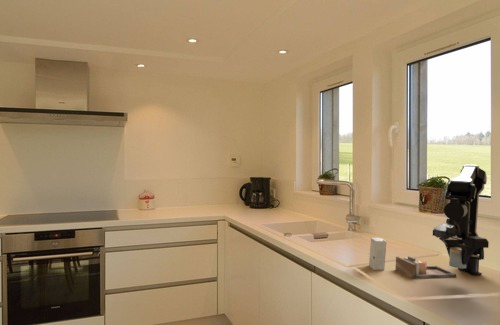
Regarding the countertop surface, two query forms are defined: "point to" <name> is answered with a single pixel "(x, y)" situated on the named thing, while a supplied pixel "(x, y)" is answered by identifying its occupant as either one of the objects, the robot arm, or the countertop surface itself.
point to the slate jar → (456, 258)
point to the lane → (431, 272)
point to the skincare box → (377, 254)
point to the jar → (422, 266)
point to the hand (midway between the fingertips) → (457, 262)
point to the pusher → (414, 263)
